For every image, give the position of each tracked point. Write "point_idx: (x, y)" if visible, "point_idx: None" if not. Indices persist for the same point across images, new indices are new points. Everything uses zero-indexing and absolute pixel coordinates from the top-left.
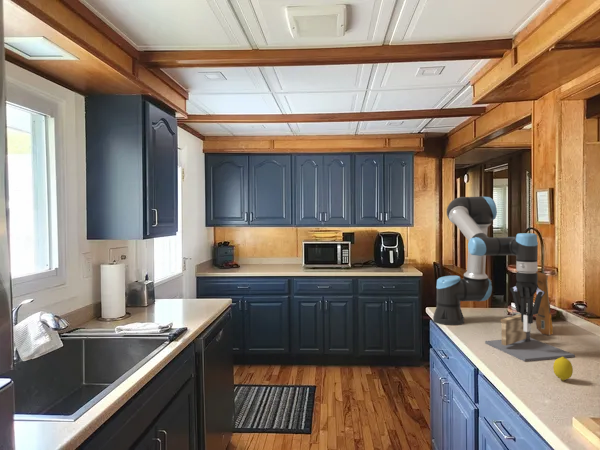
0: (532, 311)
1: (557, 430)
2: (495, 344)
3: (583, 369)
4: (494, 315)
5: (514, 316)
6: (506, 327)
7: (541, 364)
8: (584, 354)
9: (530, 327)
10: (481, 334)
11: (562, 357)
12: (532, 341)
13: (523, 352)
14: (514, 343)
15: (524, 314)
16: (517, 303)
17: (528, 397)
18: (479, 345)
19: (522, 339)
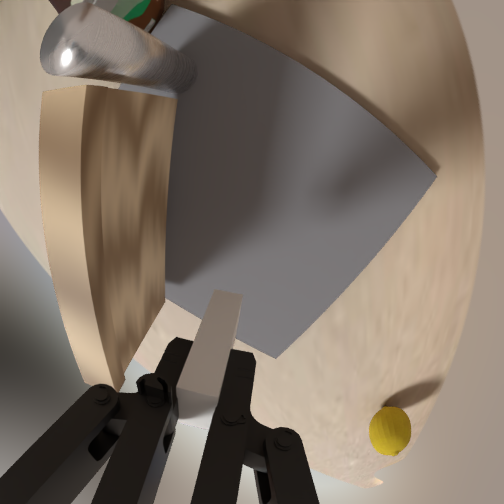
0: (258, 478)
1: (362, 484)
2: None
3: (446, 307)
4: None
5: (57, 254)
6: (129, 357)
7: (329, 345)
8: (453, 103)
9: (238, 313)
10: (18, 117)
11: (393, 455)
12: (206, 62)
13: (243, 293)
14: None
15: (177, 416)
16: (88, 481)
17: (327, 466)
18: None
19: (171, 142)
